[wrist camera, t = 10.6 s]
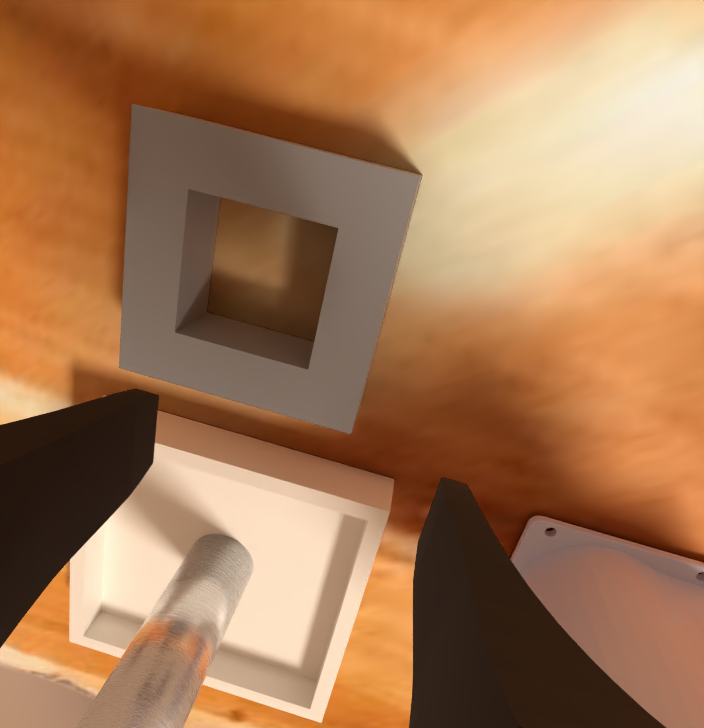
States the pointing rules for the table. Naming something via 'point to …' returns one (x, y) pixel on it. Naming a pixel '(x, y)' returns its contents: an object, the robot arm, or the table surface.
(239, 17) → the table surface
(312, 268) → the table surface
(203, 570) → the pin
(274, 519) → the tray
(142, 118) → the socket block
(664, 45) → the table surface
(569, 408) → the table surface
